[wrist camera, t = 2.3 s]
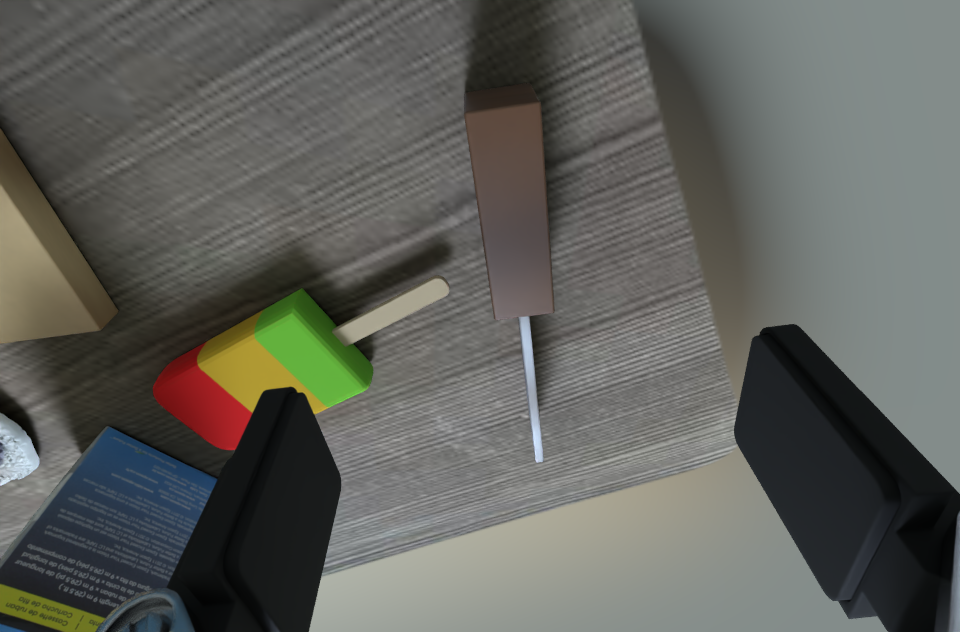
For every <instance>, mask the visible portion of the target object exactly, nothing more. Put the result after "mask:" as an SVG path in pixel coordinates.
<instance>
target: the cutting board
mask: <svg viewBox="0 0 960 632" xmlns="http://www.w3.org/2000/svg"><path fill="white" fill-rule="evenodd" d="M118 312H119V311H118V309H117V308H116V306H115V305H114V303H113V302H112V300H111V299H110V297H109V295H108V294H107V292H106V291H105V289H104V288H103V286H102V285H101V283H100V282H99V280H98V278H97V277H96V275H95V274H94V272H93V271H92V269H91V268H90V266H89V264H88V263H87V261H86V260H85V258H84V257H83V255H82V254H81V252H80V251H79V249H78V247H77V246H76V244H75V243H74V241H73V240H72V238H71V237H70V235H69V234H68V232H67V230H66V229H65V227H64V226H63V224H62V223H61V221H60V220H59V218H58V217H57V215H56V213H55V212H54V210H53V209H52V207H51V206H50V204H49V203H48V201H47V200H46V198H45V196H44V195H43V193H42V192H41V190H40V189H39V187H38V186H37V184H36V183H35V181H34V179H33V178H32V176H31V175H30V173H29V172H28V170H27V169H26V167H25V166H24V164H23V162H22V161H21V159H20V158H19V156H18V155H17V153H16V152H15V150H14V149H13V147H12V145H11V144H10V142H9V141H8V139H7V138H6V136H5V135H4V133H3V132H2V130H1V128H0V344H2V343H10V342H17V341H25V340H33V339H40V338H48V337H56V336H63V335H71V334H79V333H86V332H94V331H100V330H101V329H102V328H103V327H104V326H105V325H106V324H107V323H108V322H109V321H110V320H111V319H112V318H113V317H114V316H115V315H116V314H117V313H118Z"/></svg>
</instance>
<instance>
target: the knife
mask: <svg viewBox="0 0 960 632" xmlns="http://www.w3.org/2000/svg"><path fill="white" fill-rule="evenodd" d="M464 116H465V123H466V130H467V137H468V144H469V150H470V157H471V164H472V171H473V178H474V184H475V191H476V198H477V205H478V212H479V218H480V225H481V232H482V239H483V246H484V252H485V259H486V266H487V273H488V279H489V286H490V293H491V300H492V307H493V313H494V319H495V320H502V319H510V318H518V321H519V330H520V339H521V348H522V356H523V365H524V374H525V382H526V391H527V400H528V408H529V417H530V425H531V432H532V439H533V446H534V453H535V460H536V462H543V461H544V458H543V448H542V438H541V428H540V418H539V408H538V398H537V388H536V378H535V368H534V358H533V348H532V338H531V328H530V318H529V316H534V315H542V314H550V313H554V311H555V310H554V295H553V280H552V264H551V249H550V234H549V219H548V203H547V188H546V173H545V157H544V142H543V127H542V112H541V102H540V100H539V98H538V97H537V95H536V93H535V91H534V89H533V87H532V86H531V84H530V83H524V84H518V85H511V86H504V87H498V88H491V89H485V90H478V91H471V92H466V93H465V94H464Z"/></svg>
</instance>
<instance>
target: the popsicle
mask: <svg viewBox="0 0 960 632" xmlns="http://www.w3.org/2000/svg"><path fill="white" fill-rule="evenodd" d="M448 293H449V284H448V282H447V281H446V280H445V278H444V277H442V276H439V275H438V276H434V277H431V278H429V279H428V280H426V281H424V282H422V283H420V284H418V285H416V286H414V287H412V288H410V289H408V290H406V291H405V292H403V293H401V294H399V295H397V296H395V297H393V298H391V299H389V300H387V301H385V302H383V303H382V304H380V305H378V306H376V307H374V308H372V309H370V310H368V311H366V312H364V313H362V314H361V315H359V316H357V317H355V318H353V319H351V320H349V321H347V322H345V323H343V324H341V325H339V326H338V327H337V326H336V324H335V323H334V322H333V321H332V320H331V319H330V318H329V317H328V316H327V315H326V314H325V312H324V311H323V310H322V309H321V308H320V307H319V306H318V305H317V304H316V303H315V301H314V300H313V299H312V298H311V297H310V296H309V295H308V294H307V293H306V292H305V291H304V289H303V288H301V289H300V290H298V291H296V292H294V293H292V294H291V295H289V296H287V297H285V298H284V299H282V300H280V301H278V302H276V303H275V304H273V305H271V306H269V307H267V308H266V309H264V310H262V311H260V312H258V313H257V314H255V315H253V316H251V317H250V318H248V319H246V320H244V321H242V322H241V323H239V324H237V325H235V326H233V327H232V328H230V329H228V330H226V331H225V332H223V333H221V334H219V335H217V336H216V337H214V338H212V339H210V340H208V341H207V342H205V343H203V344H201V345H200V346H198V347H196V348H194V349H192V350H191V351H189V352H187V353H185V354H183V355H182V356H180V357H178V358H176V359H175V360H173V361H172V362H171V363H169V364H168V365H167V366H166V367H165V368H164V370H163V371H162V372H161V374H160V375H159V376H158V378H157V380H156V382H155V384H154V386H153V396H154V397H155V399H156V400H157V402H158V403H159V404H160V405H161V406H162V407H163V408H165V409H166V410H167V411H168V412H169V413H171V414H172V415H173V416H175V417H176V418H177V419H179V420H180V421H181V422H183V423H184V424H185V425H186V426H188V427H189V428H190V429H192V430H193V431H194V432H196V433H197V434H198V435H200V436H201V437H202V438H203V439H205V440H206V441H208V442H209V443H211V444H212V445H214V446H216V447H218V448H220V449H224V450H235V449H236V447H237V445H238V443H239V441H240V439H241V437H242V434H243V432H244V430H245V428H246V426H247V424H248V422H249V420H250V417H251V415H252V413H253V411H254V409H255V407H256V405H257V402H258V400H259V398H260V396H261V394H262V393H263V391H265V390H268V389H276V388H284V387H294V388H295V389H296V390H297V392H298V393H299V392H303V393H304V394H305V395H306V397H307V399H308V402H309V404H310V406H311V408H312V411H313V413H314V414H317V413H319V412H321V411H323V410H325V409H327V408H329V407H331V406H333V405H336V404H338V403H340V402H342V401H344V400H346V399H348V398H350V397H353V396H355V395H357V394H359V393H361V392H363V391H365V390H366V389H367V388H369V386H370V384H371V381H372V376H373V366H372V364H371V363H370V362H369V361H368V360H367V358H366V357H365V356H364V355H363V354H362V353H361V352H360V351H359V350H358V349H357V347H356V346H355V345H354V344H353V343H354V342H356V341H358V340H360V339H362V338H364V337H366V336H368V335H370V334H372V333H374V332H376V331H378V330H380V329H382V328H384V327H386V326H388V325H390V324H392V323H394V322H396V321H398V320H400V319H402V318H404V317H406V316H408V315H410V314H411V313H413V312H415V311H417V310H419V309H421V308H423V307H425V306H427V305H429V304H431V303H433V302H435V301H437V300H439V299H441V298H443V297H445V296H446V295H447V294H448Z"/></svg>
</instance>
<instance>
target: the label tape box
mask: <svg viewBox="0 0 960 632" xmlns="http://www.w3.org/2000/svg"><path fill="white" fill-rule="evenodd" d="M217 480H218V479H217V478H215V477H213V476H210V475H208V474H206V473H204V472H202V471H199V470H197V469H195V468H193V467H190V466H188V465H186V464H184V463H182V462H180V461H178V460H176V459H174V458H172V457H170V456H168V455H166V454H164V453H162V452H159V451H157V450H155V449H153V448H151V447H149V446H147V445H145V444H143V443H141V442H139V441H137V440H135V439H133V438H131V437H129V436H127V435H125V434H123V433H121V432H119V431H117V430H115V429H113V428H111V427H109V426H106V427H105V428H104V429H103V430H102V431H101V433H100V434H99V435H98V436H97V438H96V439H95V440H94V441H93V442H92V443H91V445H90V446H89V447H88V448H87V449H86V451H85V452H84V453H83V454H82V456H81V457H80V458H79V459H78V460H77V462H76V463H75V464H74V465H73V466H72V468H71V469H70V470H69V471H68V473H67V474H66V475H65V476H64V477H63V479H62V480H61V481H60V482H59V484H58V485H57V486H56V487H55V489H54V490H53V491H52V493H51V494H50V495H49V496H48V498H47V499H46V500H45V501H44V503H43V504H42V505H41V507H40V508H39V509H38V510H37V512H36V513H35V514H34V515H33V517H32V518H31V519H30V521H29V522H28V523H27V525H26V526H25V527H24V528H23V530H22V531H21V532H20V534H19V535H18V536H17V538H16V539H15V540H14V542H13V543H12V544H11V546H10V547H9V548H8V550H7V551H6V552H5V554H4V555H3V556H2V558H1V559H0V632H95V631H96V630H97V628H98V626H99V625H100V624H101V623H102V622H103V621H104V620H105V619H106V618H107V616H108V615H109V614H110V613H111V612H112V611H114V610H115V609H116V608H117V607H118V606H120V605H121V604H122V603H123V602H125V601H126V600H128V599H130V598H132V597H133V596H135V595H137V594H139V593H141V592H144V591H147V590H151V589H154V588H166V587H167V585H168V583H169V581H170V579H171V576H172V574H173V572H174V570H175V568H176V566H177V564H178V562H179V560H180V558H181V555H182V553H183V551H184V549H185V547H186V545H187V543H188V541H189V539H190V536H191V534H192V532H193V530H194V528H195V526H196V524H197V522H198V520H199V517H200V515H201V513H202V511H203V509H204V507H205V505H206V503H207V501H208V499H209V496H210V494H211V492H212V490H213V488H214V486H215V484H216V482H217Z"/></svg>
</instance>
